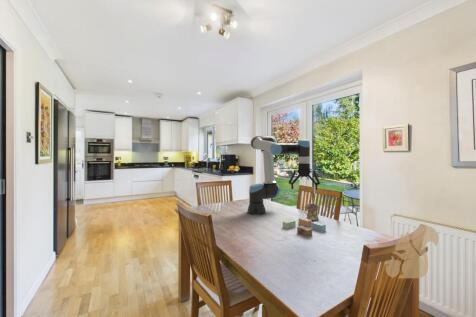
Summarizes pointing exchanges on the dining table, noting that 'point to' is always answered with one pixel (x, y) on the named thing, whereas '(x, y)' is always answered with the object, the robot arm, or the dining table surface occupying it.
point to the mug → (312, 211)
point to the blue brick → (318, 226)
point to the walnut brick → (304, 231)
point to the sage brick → (289, 224)
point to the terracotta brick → (305, 222)
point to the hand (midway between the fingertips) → (304, 194)
